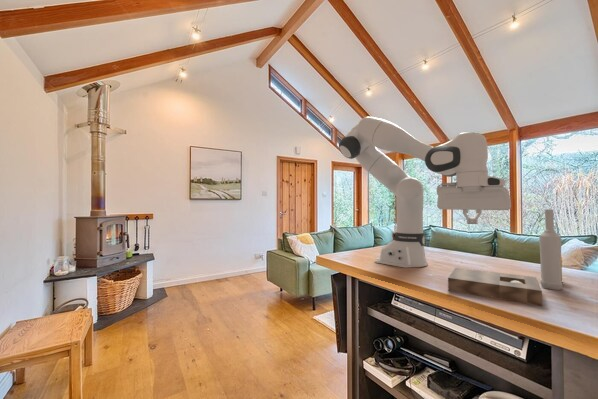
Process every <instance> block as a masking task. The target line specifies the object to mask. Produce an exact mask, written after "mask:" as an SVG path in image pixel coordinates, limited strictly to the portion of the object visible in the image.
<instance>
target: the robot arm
mask: <svg viewBox="0 0 598 399" xmlns="http://www.w3.org/2000/svg"><path fill="white" fill-rule="evenodd" d="M338 149H339V152H340V154H342V156H344V157H345V158H346V159H350V160H352V159H356V161H357V162H358V163H359V164H360V165H361V167H362V168H363V169H364V170H365V171H366V172H367V173H368V174H370V175H371V176H372V177H373V178H375V180H377V181H378V182H379V183H381V185H383V186H384V187H385V188H386V189H387V190H388V191H389V192H391V193H392V194H393V195H394V196H395V198H396V200H395V201H396V204H395V205H396V232H394V233H392V234H391V237H392V240H391V241H390V242H388V243H387V244H385V245H384V246H383V247H382V248H381V250H380V254H379V255H380V256H378V257H377V258H375V261H374V262H375V263H377V264H383V265H388V266H393V267H399V268H405V269H406V268H420V267H426V266H427V267H428V265H429V263H428V261H427V256H426V252H425V242H426V241H425V233H424V216H423V214H424V185H423V183H422V182H421V181H420V179H418V178H416V177H414V176H410V175H409V174H408V173H407V172H405V170H404V169H402V167H400V166H399V165H398V164H397V163H396V162H395V161H393V159H391V158H390V157H389V156H387V155H386V154H385V153H384V152H382V151H381V150H383V151H387V152H391V153H396V154H403V155H408V156H411V157H414V158H416V159H419V160H421V161H423V162H424V164H425V166H426V168H427V169H428V170H429V171H431V172H433V173H435V174H440V175H442V176H444V177H448V178H450V177H455V181H454V182H442V183H440V184H438V185H437V186H436V195H437V201H436V202H437V203H436V207H437V209H439V210H444V211H445V210H449V211H452V210H453V211H454V210H458V211H459V210H460V211H462V215H463V216H464V218H465V219H466V224H467V225H478V224H479V222H478V220H479V218H480V216H481V215H482V212H483V211H509V210H510V209H512V201H511V200H512V199H511V194H510V192H509V190H508V188H507V187H505V186H506V180H505V179H504V178H501V177H496V176H493V175H492V176H491V175H489V169H488V166H487V162H488V161H489V160H488V159H489V152H488V149H489V148H488V141H487V138H486V137H485V135H483V133H479V132H475V131H466V132H465V131H464V132H460V133H459V134H457V135H455V137H454V138H452V139H450V140H448V141H447V142H444V143H442V144H439V145H437V146H432V145H430V144H428V143H425V142H422V141H420V140H418V139H417V138H416V137H414V136H413V135H411V134H410V133H408V132H407V131H406V130H404V129H403V128H401V127H400V125H397V124H396V123H393V122H392V121H389V120H387V119H383V118H379V117H375V116H369V115H368V116H365V117H363V118H362V119H361V120H359V122H358V124H356V125H354V126H353V127H352V128H351V130H349V132H348V133H347V134H346V135H345V136H344V137H342V139H341V140H340V141H339V143H338ZM379 149H380V150H379ZM469 211H475V214H477V215H476V216H475V218H470V217H469V215H468V213H469Z"/></svg>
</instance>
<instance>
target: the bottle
mask: <svg viewBox="0 0 598 399" xmlns="http://www.w3.org/2000/svg"><path fill="white" fill-rule="evenodd" d="M554 213H555V212H554V209H544V216H545V217H544V219H545V222H544V223H545V224H544V225H545V226H544V227H545V229H544V230H543V231H544V232H542V233H540V234H539V235H538V239H539V240H538V241H539V255H540V257H539V258H540V259H539V260H540V278H541V277H542V279H540V287H541V288H545V289H548V290H557V291H559V290H563V281H562V282H561V263H562V236H561V235H560V234H558V233H557V232H556V230H555V225H554Z"/></svg>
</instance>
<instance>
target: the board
mask: <svg viewBox="0 0 598 399" xmlns="http://www.w3.org/2000/svg"><path fill="white" fill-rule="evenodd" d="M511 281H519V282H521V283H522V284H520V283H513V282H511ZM447 289H448V291H449V292H455V293H460V294H468V295H472V296H473V295H474V296H479V297H484V298H485V297H486V298H491V299H492V298H493V299H497V300H504V301H508V302H515V303H522V304H528V305H534V306H541V307H542V306H543V294H542V292H543V291H542V290H543V289H542V287H541V284H540V283H539V281H538V278H537V276H529V275H521V274H511V273H504V272H503V273H502V272H494V271H488V270H487V271H485V270H479V269H476V270H475V269H469V268H459V267H455V268H454V269H453V270H452V272H451V273H450V275H449V276H448V277H447Z"/></svg>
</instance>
